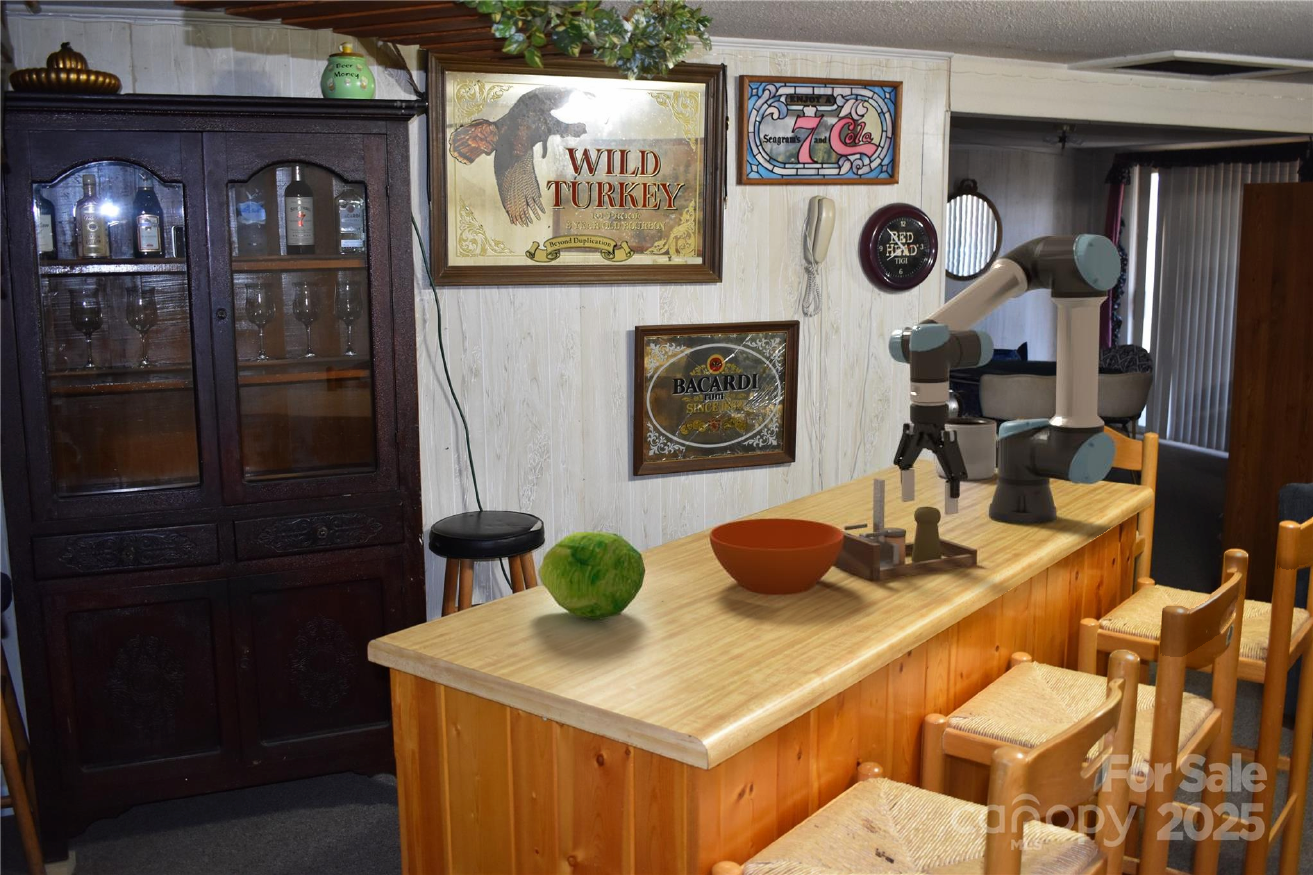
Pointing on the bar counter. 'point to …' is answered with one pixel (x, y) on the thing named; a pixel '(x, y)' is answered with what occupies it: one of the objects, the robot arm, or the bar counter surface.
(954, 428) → the planter
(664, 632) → the bar counter surface
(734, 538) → the bowl
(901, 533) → the terracotta spice jar
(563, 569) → the lettuce
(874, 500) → the pusher
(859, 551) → the lane
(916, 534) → the pepper mill
